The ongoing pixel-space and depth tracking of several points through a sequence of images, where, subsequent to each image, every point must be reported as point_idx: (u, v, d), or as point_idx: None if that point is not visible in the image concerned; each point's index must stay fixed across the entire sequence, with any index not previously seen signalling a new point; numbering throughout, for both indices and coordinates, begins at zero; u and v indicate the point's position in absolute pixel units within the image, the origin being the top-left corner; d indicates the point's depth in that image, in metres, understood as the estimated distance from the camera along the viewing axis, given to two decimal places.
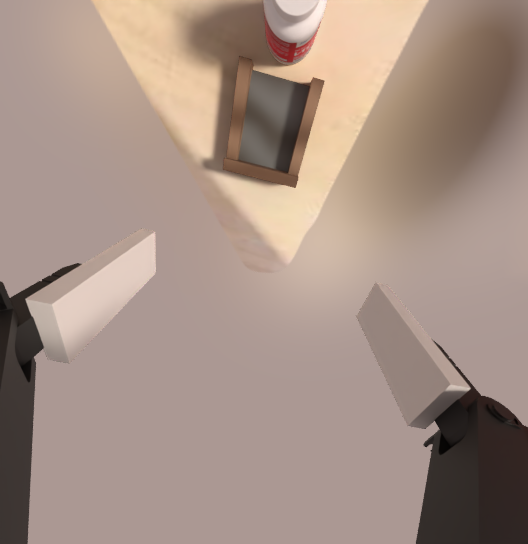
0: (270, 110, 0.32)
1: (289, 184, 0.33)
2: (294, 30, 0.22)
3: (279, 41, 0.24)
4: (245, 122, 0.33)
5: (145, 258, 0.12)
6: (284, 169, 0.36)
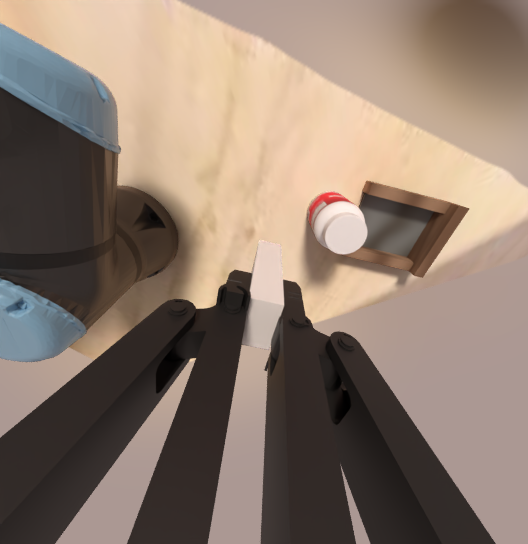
0: (375, 227, 0.35)
1: (462, 215, 0.30)
2: None
3: None
4: (379, 249, 0.37)
5: None
6: (431, 213, 0.34)
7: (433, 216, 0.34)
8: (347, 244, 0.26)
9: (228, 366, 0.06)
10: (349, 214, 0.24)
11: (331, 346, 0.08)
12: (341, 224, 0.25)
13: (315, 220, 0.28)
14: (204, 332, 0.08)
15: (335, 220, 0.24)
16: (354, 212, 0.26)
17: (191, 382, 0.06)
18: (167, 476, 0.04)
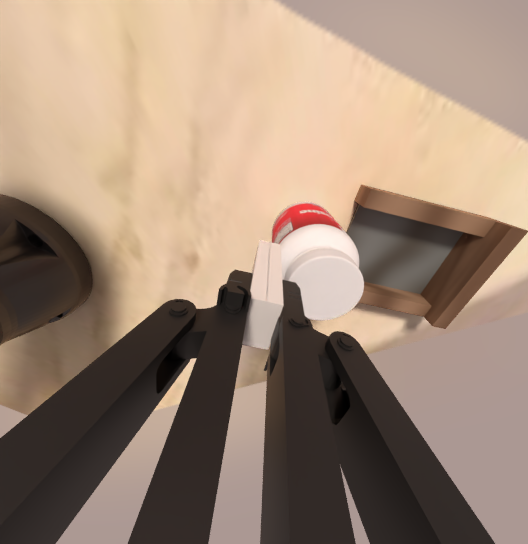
0: (375, 254, 0.24)
1: (516, 241, 0.19)
2: None
3: None
4: (380, 283, 0.26)
5: None
6: (459, 234, 0.22)
7: (463, 239, 0.22)
8: (327, 304, 0.14)
9: (229, 366, 0.06)
10: (330, 253, 0.13)
11: (330, 346, 0.08)
12: (315, 272, 0.13)
13: None
14: (204, 332, 0.08)
15: (303, 266, 0.13)
16: (340, 245, 0.14)
17: (192, 382, 0.06)
18: (168, 476, 0.04)
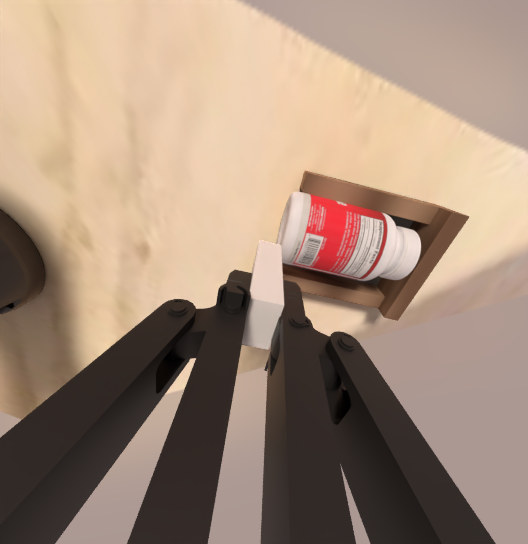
0: None
1: (458, 228, 0.18)
2: None
3: None
4: None
5: None
6: (409, 222, 0.22)
7: (413, 227, 0.22)
8: None
9: (228, 366, 0.06)
10: None
11: (331, 346, 0.08)
12: None
13: (386, 249, 0.17)
14: (204, 332, 0.08)
15: (419, 241, 0.18)
16: None
17: (191, 382, 0.06)
18: (167, 476, 0.04)
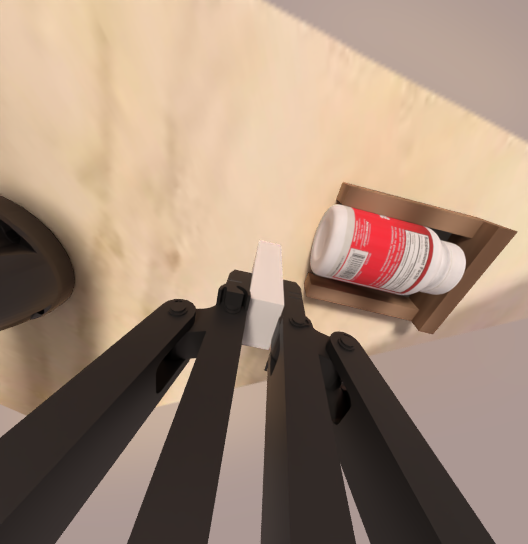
0: None
1: (504, 243, 0.18)
2: None
3: None
4: None
5: None
6: (447, 234, 0.21)
7: (451, 240, 0.21)
8: None
9: (228, 366, 0.06)
10: (450, 243, 0.19)
11: (331, 346, 0.08)
12: None
13: (431, 265, 0.17)
14: (204, 332, 0.08)
15: (463, 257, 0.18)
16: None
17: (191, 382, 0.06)
18: (167, 476, 0.04)
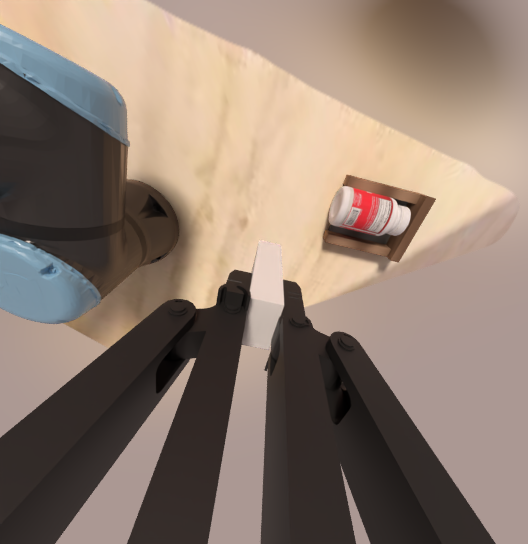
0: None
1: (430, 205, 0.34)
2: None
3: None
4: (360, 237, 0.41)
5: None
6: (405, 204, 0.38)
7: (407, 206, 0.38)
8: None
9: (228, 366, 0.06)
10: None
11: (331, 346, 0.08)
12: None
13: (392, 215, 0.33)
14: (204, 332, 0.08)
15: (410, 212, 0.34)
16: None
17: (191, 382, 0.06)
18: (167, 476, 0.04)
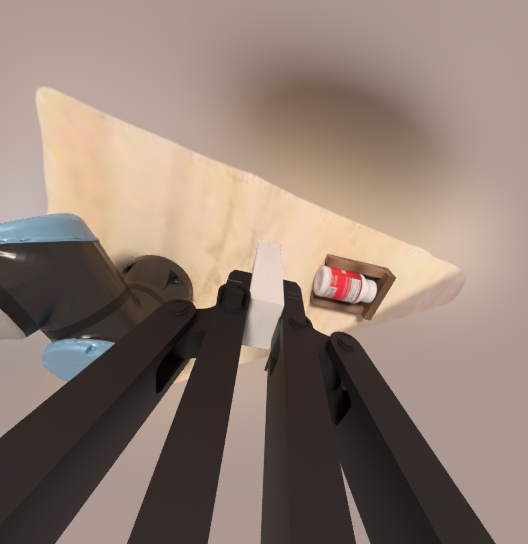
0: None
1: (392, 281, 0.44)
2: None
3: None
4: None
5: None
6: None
7: (376, 277, 0.47)
8: None
9: (228, 366, 0.06)
10: (372, 281, 0.45)
11: (331, 346, 0.08)
12: None
13: (361, 292, 0.42)
14: (204, 332, 0.08)
15: (376, 287, 0.44)
16: None
17: (191, 382, 0.06)
18: (167, 476, 0.04)
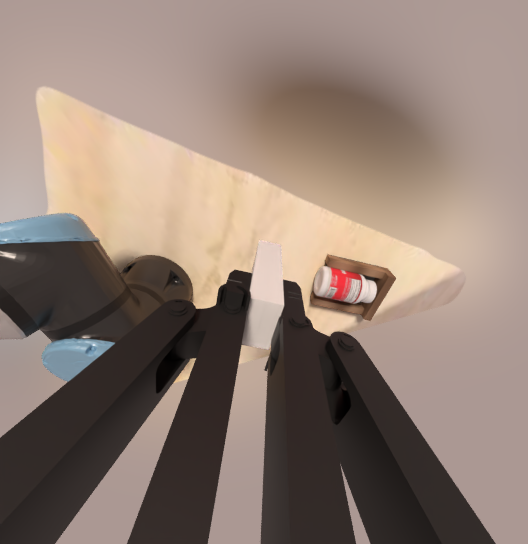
0: None
1: (392, 282, 0.44)
2: None
3: None
4: None
5: None
6: None
7: (376, 278, 0.47)
8: None
9: (228, 366, 0.06)
10: (372, 281, 0.45)
11: (331, 346, 0.08)
12: None
13: (361, 292, 0.42)
14: (204, 332, 0.08)
15: (376, 288, 0.44)
16: None
17: (191, 382, 0.06)
18: (167, 476, 0.04)
